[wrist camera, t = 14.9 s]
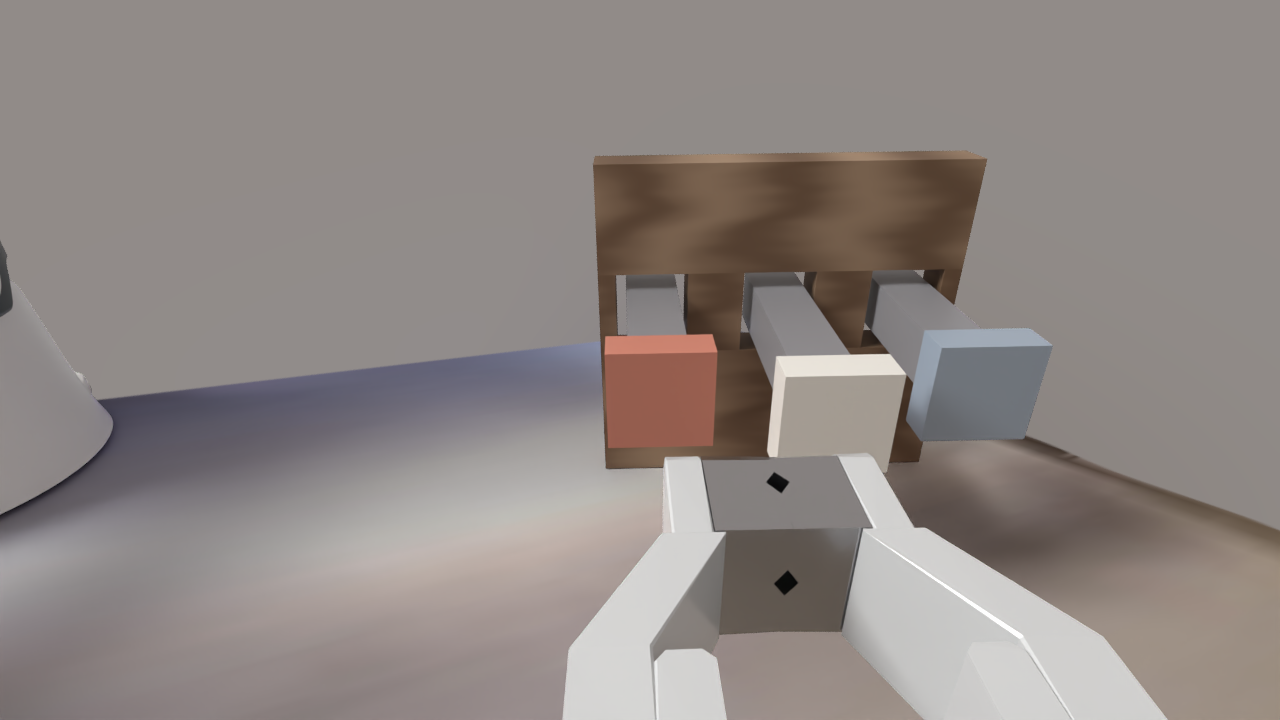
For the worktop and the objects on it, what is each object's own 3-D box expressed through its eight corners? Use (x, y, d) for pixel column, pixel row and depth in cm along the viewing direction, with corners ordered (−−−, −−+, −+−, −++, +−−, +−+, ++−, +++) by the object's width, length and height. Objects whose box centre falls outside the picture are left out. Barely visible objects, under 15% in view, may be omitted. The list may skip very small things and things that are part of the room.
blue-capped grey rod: (920, 441, 25) (941, 347, 23) (829, 312, 36) (838, 242, 34) (1023, 439, 25) (1053, 345, 23) (901, 311, 36) (914, 241, 34)
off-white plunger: (775, 475, 23) (785, 376, 22) (726, 328, 34) (730, 255, 33) (886, 472, 23) (906, 374, 22) (801, 327, 35) (810, 254, 33)
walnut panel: (605, 468, 35) (593, 164, 28) (606, 447, 37) (595, 156, 30) (918, 461, 36) (987, 158, 28) (904, 440, 37) (965, 150, 30)
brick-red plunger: (607, 448, 25) (604, 354, 23) (612, 316, 36) (610, 246, 34) (713, 445, 25) (717, 352, 23) (685, 315, 36) (686, 244, 34)
